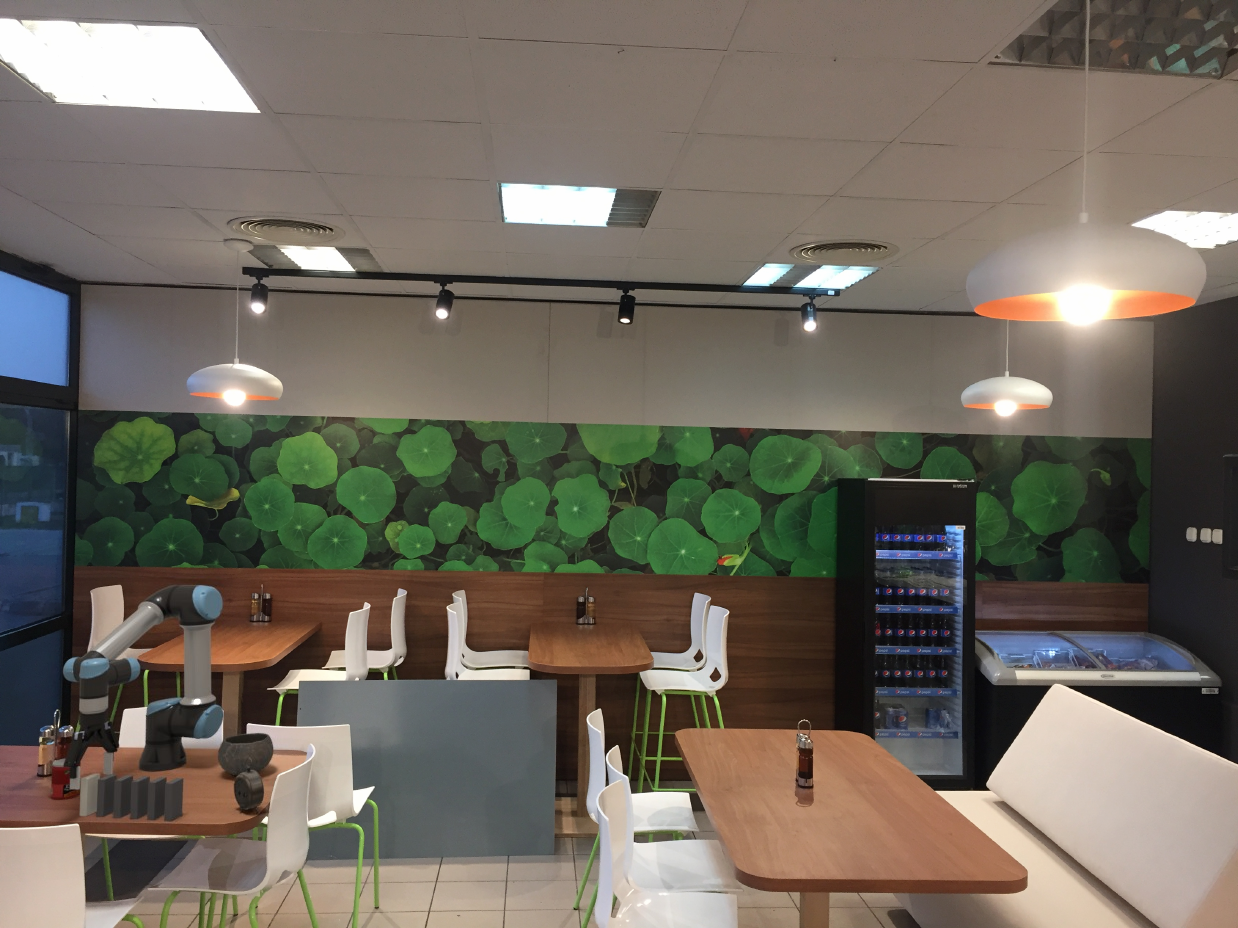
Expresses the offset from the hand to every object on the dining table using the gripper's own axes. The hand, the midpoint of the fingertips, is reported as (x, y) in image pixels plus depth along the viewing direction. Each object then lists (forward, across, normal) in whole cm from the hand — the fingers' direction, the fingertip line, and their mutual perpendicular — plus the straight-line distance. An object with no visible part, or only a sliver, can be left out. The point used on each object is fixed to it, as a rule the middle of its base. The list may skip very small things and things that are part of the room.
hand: (91, 781), depth 264 cm
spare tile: (+9, +1, 0) cm, 9 cm away
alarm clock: (+10, -8, +46) cm, 48 cm away
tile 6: (+9, +1, +28) cm, 29 cm away
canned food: (+10, -12, -19) cm, 24 cm away
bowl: (+10, -42, +25) cm, 50 cm away
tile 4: (+9, +1, +16) cm, 19 cm away
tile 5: (+9, +1, +22) cm, 24 cm away
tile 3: (+9, +1, +11) cm, 14 cm away
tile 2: (+9, +1, +6) cm, 11 cm away
